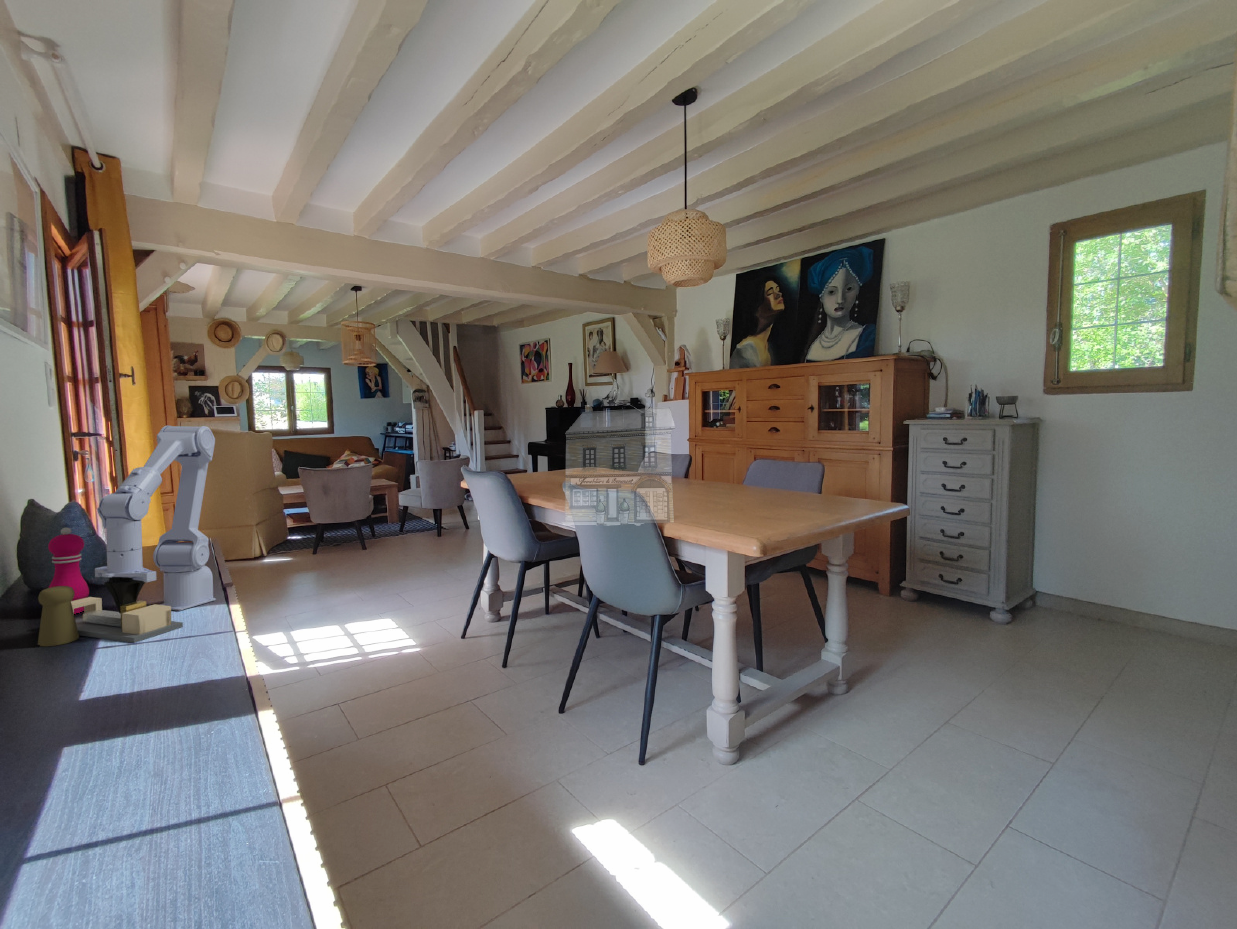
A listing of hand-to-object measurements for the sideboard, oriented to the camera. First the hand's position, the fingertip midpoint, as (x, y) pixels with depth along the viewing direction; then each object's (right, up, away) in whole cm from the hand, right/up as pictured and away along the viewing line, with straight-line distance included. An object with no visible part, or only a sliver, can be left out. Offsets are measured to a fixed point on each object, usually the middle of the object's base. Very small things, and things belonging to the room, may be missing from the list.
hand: (126, 612), depth 122 cm
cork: (-8, -4, -7) cm, 11 cm away
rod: (-2, -2, +1) cm, 3 cm away
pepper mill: (-23, -3, +11) cm, 26 cm away
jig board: (-3, -4, +1) cm, 5 cm away
